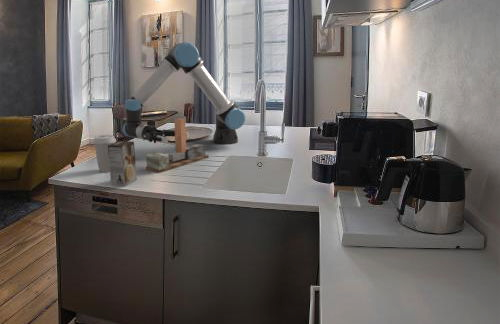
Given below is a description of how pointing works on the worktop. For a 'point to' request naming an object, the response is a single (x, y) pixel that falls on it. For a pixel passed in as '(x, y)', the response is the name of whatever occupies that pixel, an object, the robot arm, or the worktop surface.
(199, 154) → the stand
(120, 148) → the coffee box
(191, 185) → the worktop surface
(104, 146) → the coffee cup
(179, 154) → the orange and grey l-shape
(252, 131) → the worktop surface
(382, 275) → the worktop surface
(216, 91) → the robot arm
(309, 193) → the worktop surface
